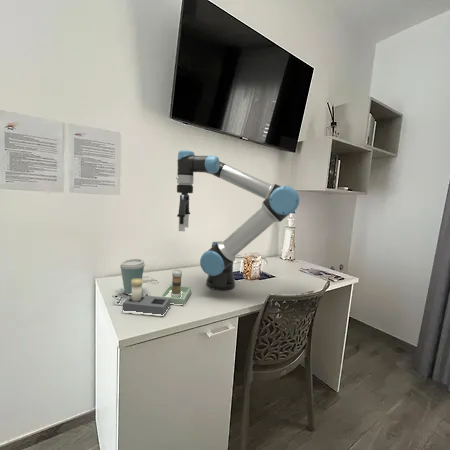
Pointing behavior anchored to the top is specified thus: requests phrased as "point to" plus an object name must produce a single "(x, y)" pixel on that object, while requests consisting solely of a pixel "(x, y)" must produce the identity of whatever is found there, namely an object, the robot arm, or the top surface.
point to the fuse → (136, 289)
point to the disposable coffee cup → (131, 272)
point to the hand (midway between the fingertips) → (183, 229)
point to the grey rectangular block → (148, 305)
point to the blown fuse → (176, 284)
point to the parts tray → (185, 294)
